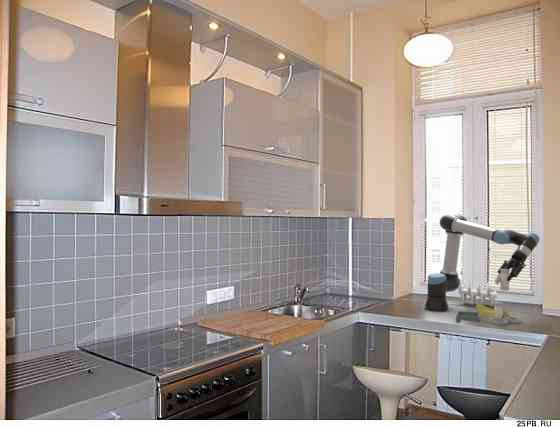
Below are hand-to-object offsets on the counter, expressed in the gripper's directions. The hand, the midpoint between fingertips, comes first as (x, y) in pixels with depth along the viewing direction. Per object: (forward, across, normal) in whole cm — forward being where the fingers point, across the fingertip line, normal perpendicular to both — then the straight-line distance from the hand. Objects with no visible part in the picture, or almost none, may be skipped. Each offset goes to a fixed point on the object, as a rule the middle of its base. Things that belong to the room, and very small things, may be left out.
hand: (499, 283), depth 263 cm
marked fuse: (0, 0, -5) cm, 5 cm away
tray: (+24, +14, -10) cm, 29 cm away
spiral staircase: (-5, +48, -40) cm, 63 cm away
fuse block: (+15, -3, -18) cm, 24 cm away
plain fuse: (+18, -3, -13) cm, 22 cm away
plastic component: (+8, +18, -27) cm, 33 cm away
